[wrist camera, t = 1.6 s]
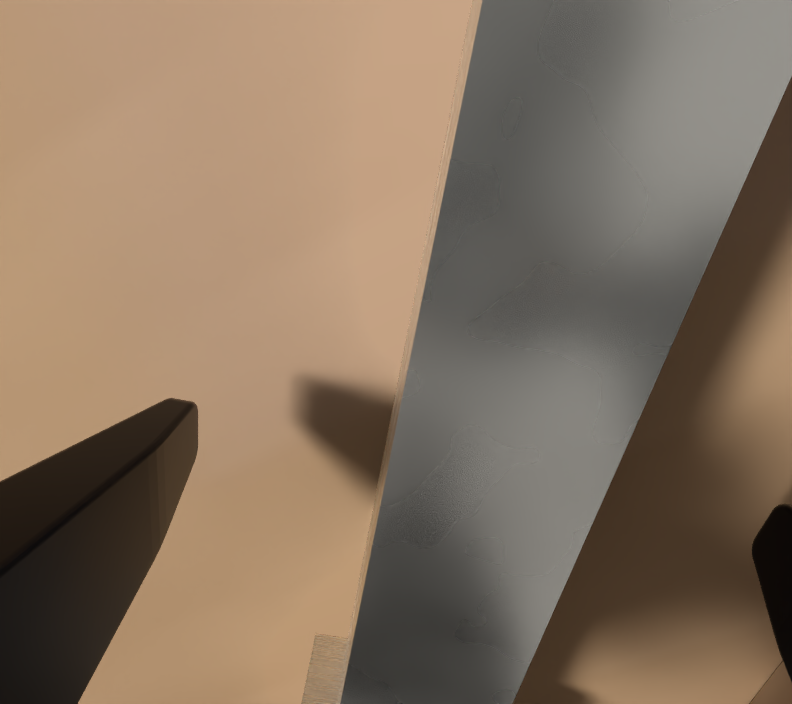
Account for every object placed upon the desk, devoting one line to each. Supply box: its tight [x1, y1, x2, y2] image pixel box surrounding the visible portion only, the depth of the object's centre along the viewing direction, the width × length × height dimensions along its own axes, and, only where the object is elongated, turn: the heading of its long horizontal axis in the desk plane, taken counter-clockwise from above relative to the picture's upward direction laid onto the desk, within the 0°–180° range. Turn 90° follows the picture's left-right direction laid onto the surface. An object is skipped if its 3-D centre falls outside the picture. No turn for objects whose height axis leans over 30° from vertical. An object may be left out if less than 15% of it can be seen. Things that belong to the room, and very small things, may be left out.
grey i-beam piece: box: [301, 0, 792, 704], centre depth 10 cm, size 20×4×2 cm, turn 171°
